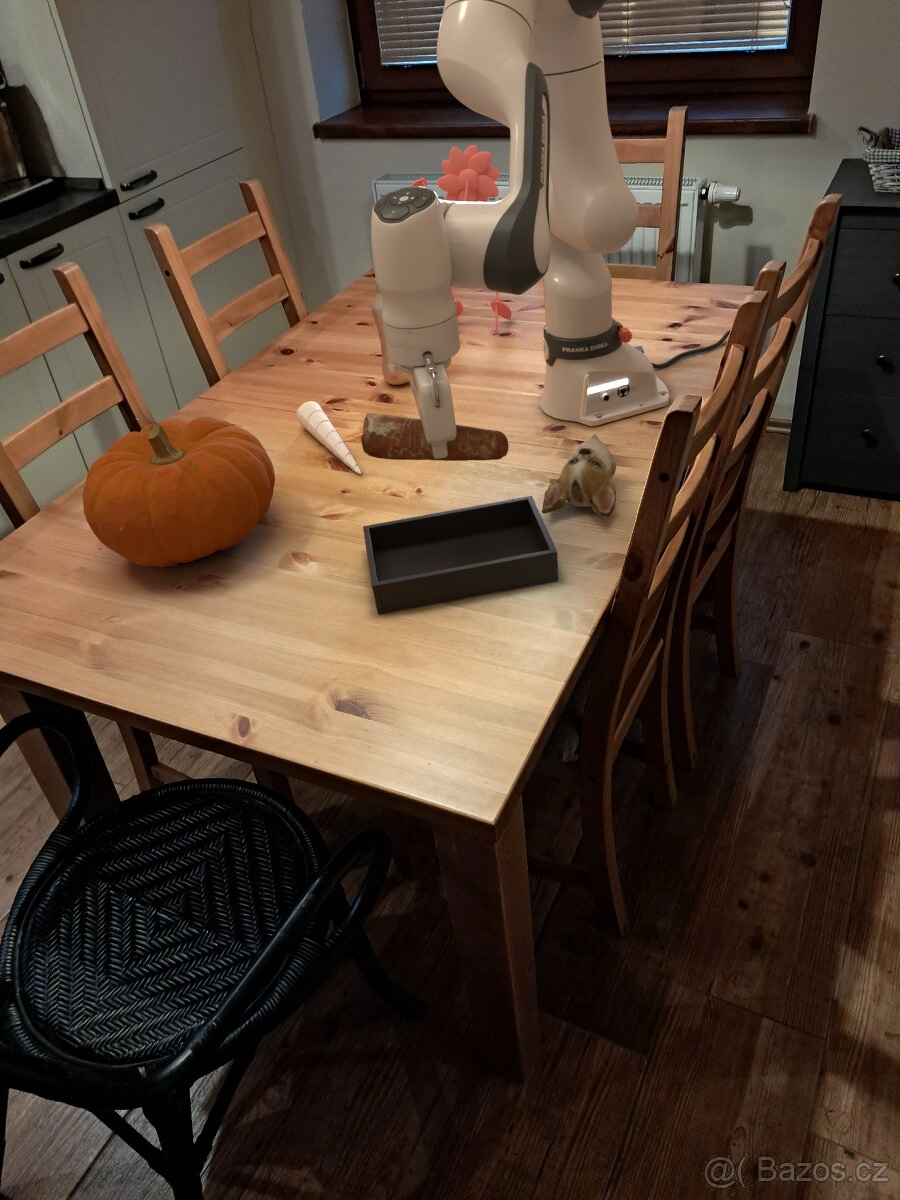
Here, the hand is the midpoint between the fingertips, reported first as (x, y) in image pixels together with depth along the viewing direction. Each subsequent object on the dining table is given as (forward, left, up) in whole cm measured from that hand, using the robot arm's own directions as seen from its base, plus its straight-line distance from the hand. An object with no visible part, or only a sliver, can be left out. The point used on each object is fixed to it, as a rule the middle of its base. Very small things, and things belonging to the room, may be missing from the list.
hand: (435, 441), depth 117 cm
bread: (0, 0, -2) cm, 3 cm away
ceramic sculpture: (-22, -9, -19) cm, 30 cm away
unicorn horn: (+14, -40, -19) cm, 46 cm away
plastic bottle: (0, -62, -19) cm, 65 cm away
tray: (-1, +2, -19) cm, 19 cm away
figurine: (-21, -86, -19) cm, 90 cm away
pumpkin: (+37, -18, -19) cm, 45 cm away
